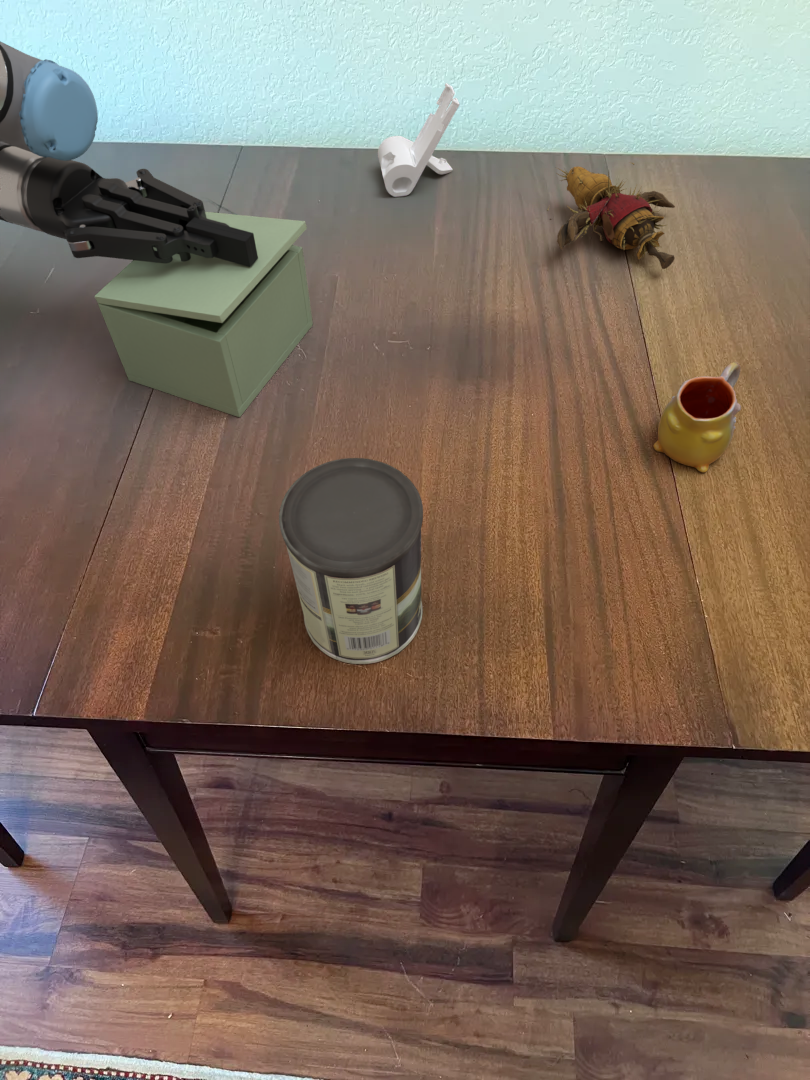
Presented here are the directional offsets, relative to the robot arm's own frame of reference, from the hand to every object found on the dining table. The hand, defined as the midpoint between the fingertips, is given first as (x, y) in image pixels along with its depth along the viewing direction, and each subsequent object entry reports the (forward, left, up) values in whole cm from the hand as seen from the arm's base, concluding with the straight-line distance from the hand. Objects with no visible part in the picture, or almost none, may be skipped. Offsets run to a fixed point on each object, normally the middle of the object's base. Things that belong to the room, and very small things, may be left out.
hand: (251, 250), depth 73 cm
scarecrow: (+38, +26, -15) cm, 48 cm away
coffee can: (+13, -30, -15) cm, 36 cm away
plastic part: (+13, +38, -15) cm, 43 cm away
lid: (-6, +2, -3) cm, 7 cm away
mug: (+45, -7, -15) cm, 47 cm away
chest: (-6, +2, -14) cm, 16 cm away
